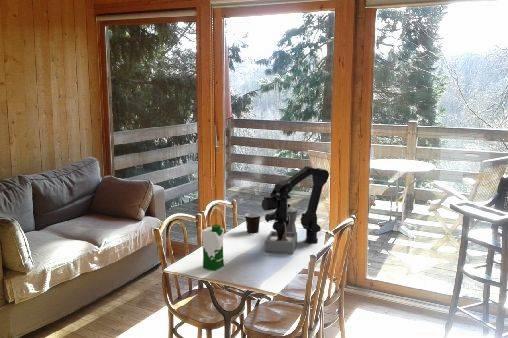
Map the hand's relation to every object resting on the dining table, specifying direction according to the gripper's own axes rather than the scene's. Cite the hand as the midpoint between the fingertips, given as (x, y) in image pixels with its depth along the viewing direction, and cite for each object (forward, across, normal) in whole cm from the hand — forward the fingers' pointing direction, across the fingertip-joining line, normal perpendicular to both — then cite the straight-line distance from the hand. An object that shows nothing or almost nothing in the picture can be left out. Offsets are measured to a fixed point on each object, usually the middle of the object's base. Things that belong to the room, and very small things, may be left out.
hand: (281, 237), depth 243 cm
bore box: (+6, 0, 0) cm, 6 cm away
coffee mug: (+6, -21, -20) cm, 30 cm away
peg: (+5, 0, 0) cm, 5 cm away
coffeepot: (+6, -21, 0) cm, 22 cm away
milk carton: (+6, +31, -27) cm, 41 cm away
